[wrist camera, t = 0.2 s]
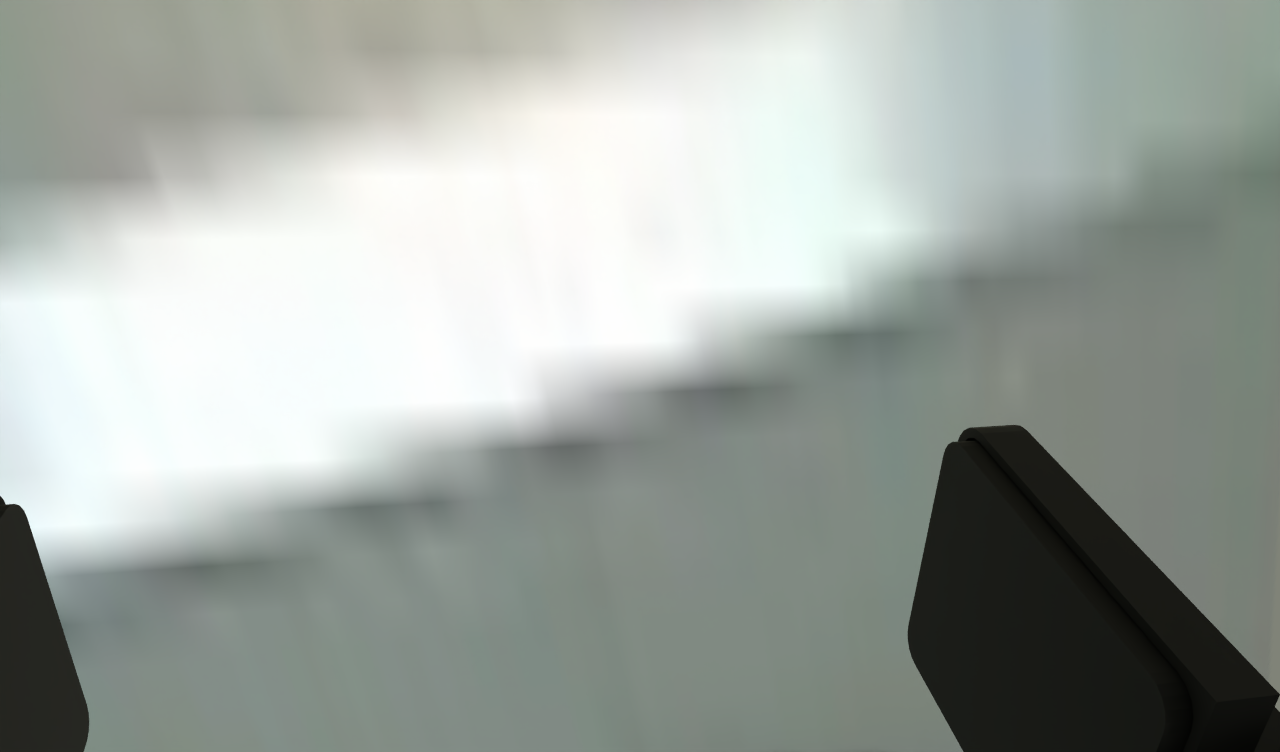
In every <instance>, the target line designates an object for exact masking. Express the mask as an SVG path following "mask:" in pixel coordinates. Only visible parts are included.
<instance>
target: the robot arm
mask: <svg viewBox="0 0 1280 752" xmlns="http://www.w3.org/2000/svg"><path fill="white" fill-rule="evenodd" d="M908 644H909V649H910V653H911V656H912V659H913V661H914V663H915V665H916V667H917V669H918V671H919V672H920V674H921V676H922V678H923V680H924V681H925V683H926V685H927V687H928V689H929V690H930V692H931V694H932V696H933V698H934V699H935V701H936V703H937V705H938V707H939V708H940V710H941V712H942V714H943V715H944V717H945V719H946V721H947V723H948V724H949V726H950V728H951V730H952V732H953V733H954V735H955V737H956V739H957V741H958V742H959V744H960V746H961V748H962V750H963V751H964V752H1280V712H1279V711H1278V710H1277V709H1276V708H1275V704H1276V702H1277V700H1278V697H1279V696H1280V694H1279V693H1278V692H1277V691H1276V690H1275V689H1274V688H1273V687H1272V686H1271V685H1270V684H1269V683H1268V682H1267V681H1266V680H1265V678H1264V677H1263V676H1262V675H1261V674H1260V673H1259V672H1258V671H1257V670H1256V669H1255V668H1254V667H1253V666H1252V665H1251V664H1250V663H1249V662H1248V661H1247V660H1246V659H1245V658H1244V657H1243V656H1242V654H1241V653H1240V652H1239V651H1238V650H1237V649H1236V648H1235V647H1234V646H1233V645H1232V644H1231V643H1230V642H1229V641H1228V640H1227V639H1226V638H1225V637H1224V636H1223V635H1222V634H1221V633H1220V632H1219V630H1218V629H1217V628H1216V627H1215V626H1214V625H1213V624H1212V623H1211V622H1210V621H1209V620H1208V619H1207V618H1206V617H1205V616H1204V615H1203V614H1202V613H1201V612H1200V611H1199V610H1198V609H1197V608H1196V606H1195V605H1194V604H1193V603H1192V602H1191V601H1190V600H1189V599H1188V598H1187V597H1186V596H1185V595H1184V594H1183V593H1182V592H1181V591H1180V590H1179V589H1178V588H1177V587H1176V586H1175V585H1174V584H1173V582H1172V581H1171V580H1170V579H1169V578H1168V577H1167V576H1166V575H1165V574H1164V573H1163V572H1162V571H1161V570H1160V569H1159V568H1158V567H1157V566H1156V565H1155V564H1154V563H1153V562H1152V561H1151V560H1150V558H1149V557H1148V556H1147V555H1146V554H1145V553H1144V552H1143V551H1142V550H1141V549H1140V548H1139V547H1138V546H1137V545H1136V544H1135V543H1134V542H1133V541H1132V540H1131V539H1130V538H1129V537H1128V536H1127V534H1126V533H1125V532H1124V531H1123V530H1122V529H1121V528H1120V527H1119V526H1118V525H1117V524H1116V523H1115V522H1114V521H1113V520H1112V519H1111V518H1110V517H1109V516H1108V515H1107V514H1106V513H1105V512H1104V510H1103V509H1102V508H1101V507H1100V506H1099V505H1098V504H1097V503H1096V502H1095V501H1094V500H1093V499H1092V498H1091V497H1090V496H1089V495H1088V494H1087V493H1086V492H1085V491H1084V490H1083V489H1082V488H1081V486H1080V485H1079V484H1078V483H1077V482H1076V481H1075V480H1074V479H1073V478H1072V477H1071V476H1070V475H1069V474H1068V473H1067V472H1066V471H1065V470H1064V469H1063V468H1062V467H1061V466H1060V465H1059V464H1058V462H1057V461H1056V460H1055V459H1054V458H1053V457H1052V456H1051V455H1050V454H1049V453H1048V452H1047V451H1046V450H1045V449H1044V448H1043V447H1042V446H1041V445H1040V444H1039V443H1038V442H1037V441H1036V440H1035V438H1034V437H1033V436H1032V435H1031V434H1030V433H1029V432H1028V431H1027V430H1026V429H1024V428H1023V427H1021V426H1018V425H1005V426H990V427H974V428H968V429H966V430H964V431H963V433H962V434H961V435H960V437H959V440H958V442H952V443H950V444H948V446H947V447H946V449H945V452H944V455H943V460H942V465H941V470H940V475H939V480H938V485H937V489H936V494H935V499H934V504H933V509H932V514H931V519H930V523H929V528H928V533H927V538H926V543H925V548H924V553H923V558H922V562H921V567H920V572H919V577H918V582H917V587H916V592H915V596H914V601H913V606H912V611H911V616H910V621H909V626H908ZM88 732H89V713H88V708H87V704H86V701H85V698H84V695H83V691H82V688H81V685H80V682H79V679H78V676H77V673H76V670H75V666H74V663H73V660H72V657H71V654H70V651H69V648H68V644H67V641H66V638H65V635H64V632H63V629H62V626H61V623H60V619H59V616H58V613H57V610H56V607H55V604H54V601H53V597H52V594H51V591H50V588H49V585H48V582H47V579H46V576H45V572H44V569H43V566H42V563H41V560H40V557H39V554H38V550H37V547H36V544H35V541H34V538H33V535H32V532H31V529H30V525H29V522H28V519H27V517H26V514H25V512H24V510H23V509H22V508H21V507H20V506H19V505H16V504H9V505H6V504H5V502H4V500H3V499H2V497H1V496H0V752H83V751H84V749H85V745H86V742H87V738H88Z"/></svg>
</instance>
